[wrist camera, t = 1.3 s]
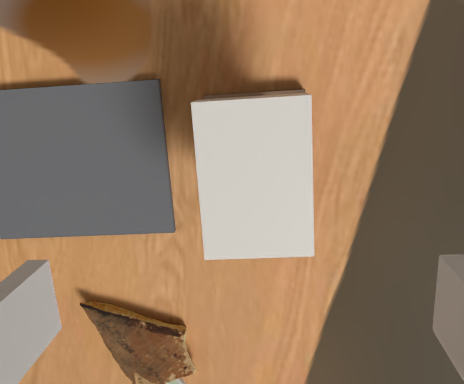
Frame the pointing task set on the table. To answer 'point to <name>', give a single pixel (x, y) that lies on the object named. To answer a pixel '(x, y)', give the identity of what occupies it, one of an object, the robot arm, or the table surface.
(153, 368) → the shard
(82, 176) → the rubber mat
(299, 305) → the table surface
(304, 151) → the card box
